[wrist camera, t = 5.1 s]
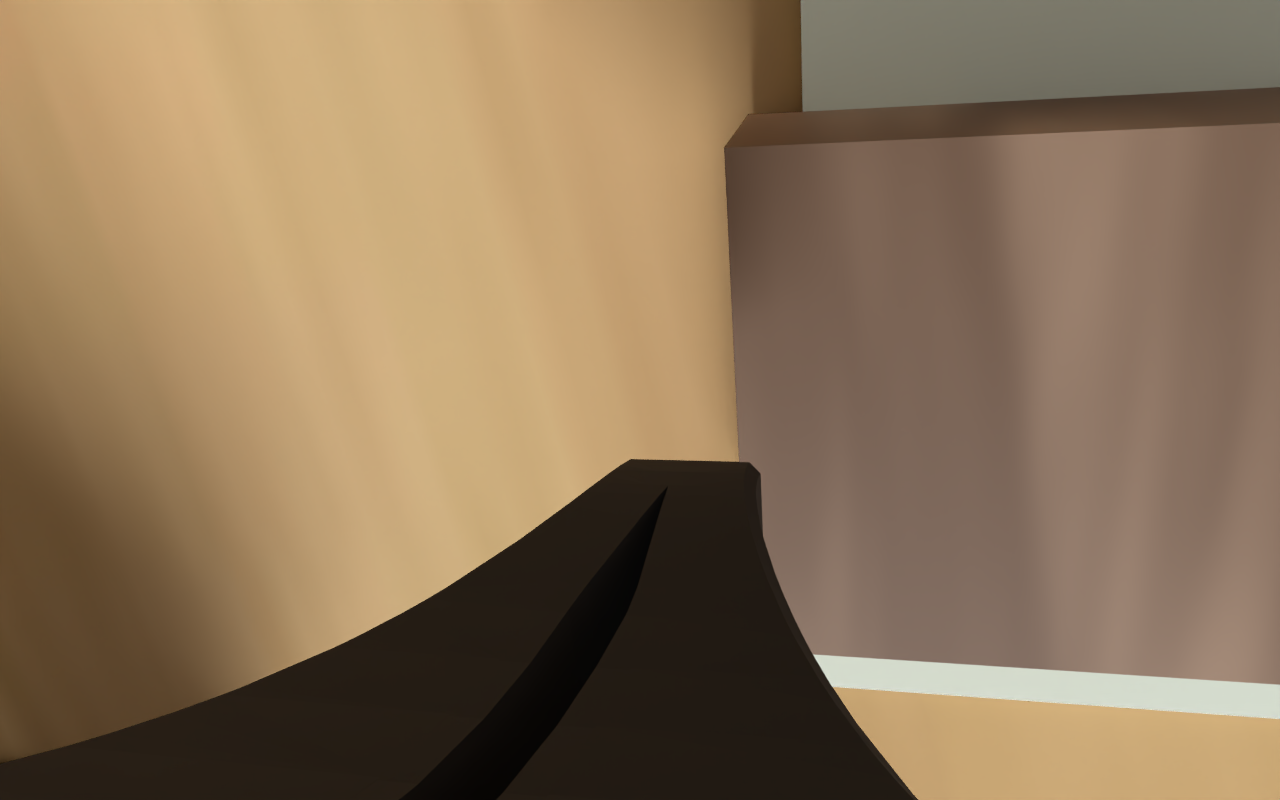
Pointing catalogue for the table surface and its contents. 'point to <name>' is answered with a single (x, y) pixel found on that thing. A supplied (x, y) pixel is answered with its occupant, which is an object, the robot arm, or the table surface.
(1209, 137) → the slab
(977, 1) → the mat
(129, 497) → the table surface
